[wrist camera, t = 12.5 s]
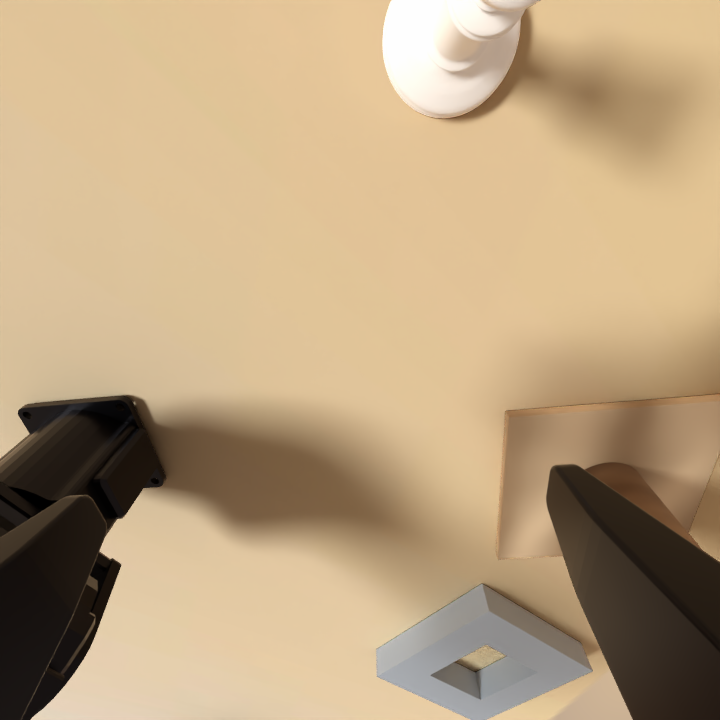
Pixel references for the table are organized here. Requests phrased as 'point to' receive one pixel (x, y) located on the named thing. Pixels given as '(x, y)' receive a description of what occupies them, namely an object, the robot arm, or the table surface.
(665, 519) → the walnut dowel
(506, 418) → the wooden coaster
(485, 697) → the holder block
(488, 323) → the table surface
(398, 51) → the chess piece
